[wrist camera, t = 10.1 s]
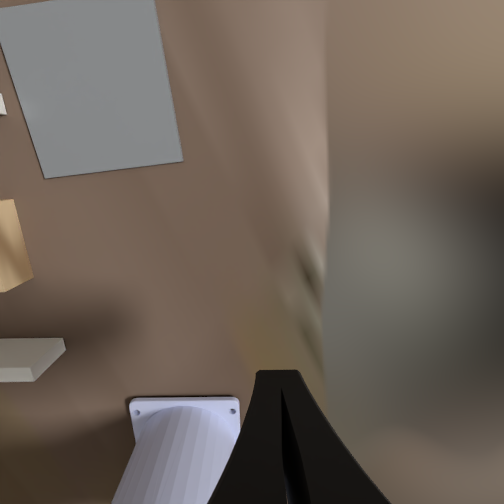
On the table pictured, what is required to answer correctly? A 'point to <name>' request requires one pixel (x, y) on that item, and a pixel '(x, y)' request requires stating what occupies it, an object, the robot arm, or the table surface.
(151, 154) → the slate coaster
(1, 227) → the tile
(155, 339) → the table surface
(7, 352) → the frame
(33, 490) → the table surface
